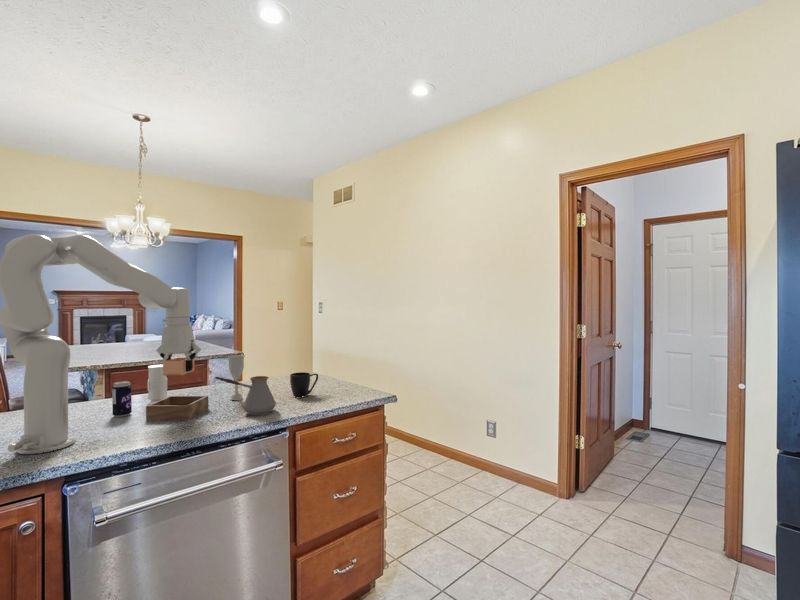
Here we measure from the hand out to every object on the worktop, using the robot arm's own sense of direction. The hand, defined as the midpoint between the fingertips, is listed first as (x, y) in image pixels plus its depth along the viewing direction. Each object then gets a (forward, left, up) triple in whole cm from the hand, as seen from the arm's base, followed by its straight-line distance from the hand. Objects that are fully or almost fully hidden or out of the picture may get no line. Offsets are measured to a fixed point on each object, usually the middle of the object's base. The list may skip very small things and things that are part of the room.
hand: (179, 370), depth 148 cm
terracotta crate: (0, 0, -1) cm, 1 cm away
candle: (+17, +18, -16) cm, 29 cm away
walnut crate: (0, 0, -16) cm, 16 cm away
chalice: (+22, -12, -16) cm, 30 cm away
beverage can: (-1, +20, -16) cm, 26 cm away
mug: (+28, -39, -16) cm, 50 cm away
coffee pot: (-1, -25, -16) cm, 29 cm away
